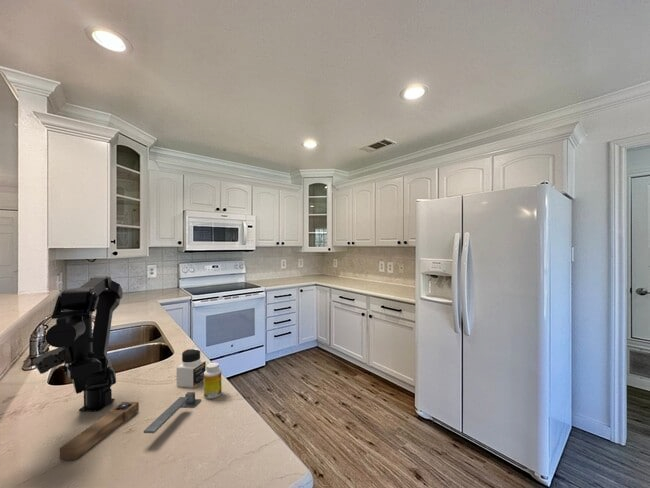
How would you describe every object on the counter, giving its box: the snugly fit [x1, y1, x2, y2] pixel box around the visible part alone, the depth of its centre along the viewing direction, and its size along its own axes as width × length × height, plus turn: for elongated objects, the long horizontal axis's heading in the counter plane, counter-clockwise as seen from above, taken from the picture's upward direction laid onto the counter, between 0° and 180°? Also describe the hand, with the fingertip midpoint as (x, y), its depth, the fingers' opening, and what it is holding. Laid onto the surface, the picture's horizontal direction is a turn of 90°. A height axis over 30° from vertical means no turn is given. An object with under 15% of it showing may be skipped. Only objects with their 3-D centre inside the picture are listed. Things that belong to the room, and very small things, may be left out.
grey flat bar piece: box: [143, 391, 202, 434], centre depth 81 cm, size 5×21×4 cm, turn 176°
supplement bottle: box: [203, 362, 223, 400], centre depth 95 cm, size 6×6×10 cm
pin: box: [118, 401, 129, 410], centre depth 83 cm, size 3×3×4 cm
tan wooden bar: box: [58, 401, 140, 461], centre depth 76 cm, size 20×5×3 cm, turn 176°
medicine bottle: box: [176, 347, 207, 389], centre depth 103 cm, size 7×7×12 cm
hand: (78, 392), depth 76 cm, fingers closed
